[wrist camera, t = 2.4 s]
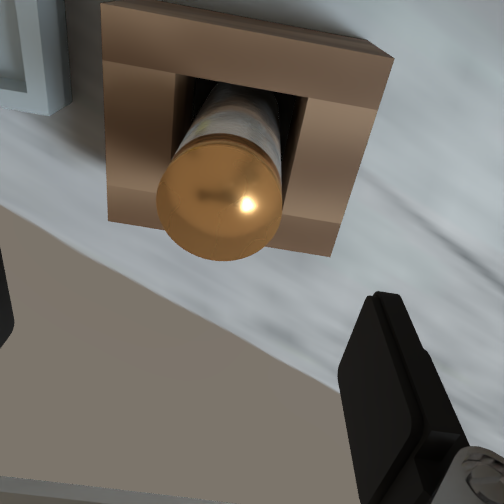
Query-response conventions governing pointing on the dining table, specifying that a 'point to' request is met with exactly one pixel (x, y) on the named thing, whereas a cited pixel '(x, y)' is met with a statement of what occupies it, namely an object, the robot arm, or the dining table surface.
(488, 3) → the dining table surface
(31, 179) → the dining table surface
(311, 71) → the block
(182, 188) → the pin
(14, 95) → the tray
